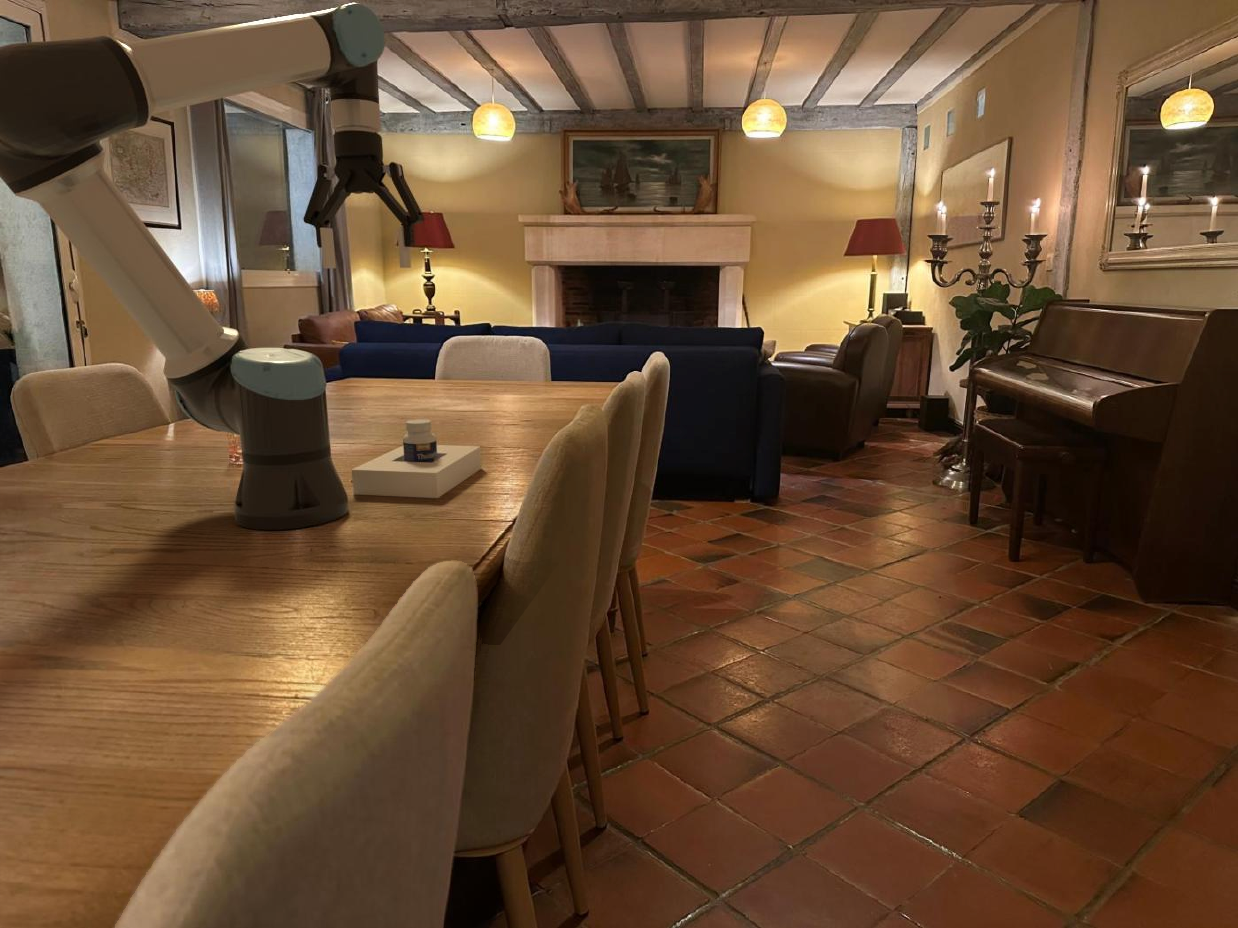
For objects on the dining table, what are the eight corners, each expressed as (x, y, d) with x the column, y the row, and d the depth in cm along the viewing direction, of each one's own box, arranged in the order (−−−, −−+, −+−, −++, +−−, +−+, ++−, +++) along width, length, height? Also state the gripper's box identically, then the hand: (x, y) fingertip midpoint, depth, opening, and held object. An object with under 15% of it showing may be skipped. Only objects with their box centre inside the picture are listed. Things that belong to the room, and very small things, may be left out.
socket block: (353, 494, 128) (351, 469, 127) (407, 465, 147) (406, 443, 146) (437, 498, 125) (436, 472, 124) (481, 468, 144) (480, 446, 143)
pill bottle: (420, 484, 132) (416, 425, 130) (398, 479, 136) (394, 422, 133) (445, 477, 137) (442, 420, 134) (424, 473, 140) (420, 417, 138)
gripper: (439, 133, 132) (446, 267, 137) (299, 139, 137) (310, 268, 141) (420, 125, 125) (428, 267, 130) (273, 131, 129) (286, 268, 134)
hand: (367, 268), depth 136 cm, fingers open, 13 cm apart
